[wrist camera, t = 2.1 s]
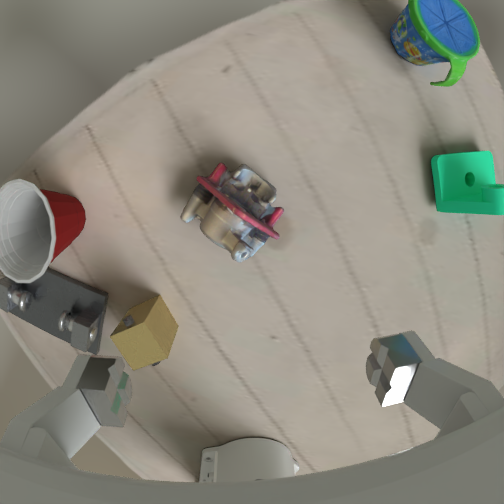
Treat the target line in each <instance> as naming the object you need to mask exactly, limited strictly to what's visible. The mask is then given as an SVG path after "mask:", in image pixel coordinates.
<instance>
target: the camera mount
mask: <svg viewBox="0 0 504 504" xmlns="http://www.w3.org/2000/svg"><path fill="white" fill-rule="evenodd" d="M431 166H432V173H433V180H434V188H435V197H436V208H437V211H440V212H447V213H469V214H488V215H504V185H503V184H496V183H495V173H494V164H493V156H492V154H491V152H490V151H474V152H460V153H450V154H444V155H435V156H433V158H432V160H431Z"/></svg>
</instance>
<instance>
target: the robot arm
mask: <svg viewBox="0 0 504 504" xmlns="http://www.w3.org/2000/svg"><path fill="white" fill-rule="evenodd" d="M370 349H371V351H372V353H371V354H370V355H369V356H368V358H367V362H366V374H367V378H368V380H369V382H370V384H372V385H374V386H375V387H376V390H375V394H376V396H377V398H378V400H379V402H380V405H381V407H383V406H387V405H391V404H396V403H400V402H403V403H405V404H406V405H407V406H409V407H410V408H411V409H413V410H414V411H416V412H417V413H418V414H420V415H421V416H423V417H424V418H425V419H427V420H428V421H430V422H431V423H432V424H434V425H435V426H437V427H438V428H440V431H439V432H438V434H437V435H436V437H435V438H434V440H432V441H429V442H426V443H424V444H421V445H418V446H415V447H413V448H410V449H407V450H404V451H401V452H398V453H394V454H391V455H388V456H385V457H381V458H378V459H374V460H370V461H367V462H363V463H359V464H355V465H351V466H346V467H342V468H337V469H333V470H328V471H322V472H317V473H311V474H305V475H298V476H295V473H296V472H297V471H298V470H299V463H298V462H296V461H295V460H294V459H293V458H292V455H291V452H290V450H289V449H288V448H287V447H286V446H285V445H283V444H281V443H279V442H277V441H274V440H270V439H265V438H245V439H239V440H235V441H232V442H229V443H227V444H224V445H222V446H219V447H211V448H206V449H204V450H203V451H202V458H201V468H200V477H199V482H170V481H155V480H144V479H133V478H126V477H119V476H112V475H106V474H99V473H93V472H88V471H84V470H79V469H78V468H77V467H76V466H75V465H74V464H73V463H72V462H71V461H70V458H71V457H73V455H74V454H75V453H76V452H77V451H78V450H79V449H80V448H81V447H82V446H83V445H84V444H85V443H86V442H87V441H88V440H89V439H90V438H91V437H92V436H93V435H94V434H95V432H96V431H97V430H98V429H99V428H100V427H101V426H113V427H124V424H125V420H126V416H127V410H126V407H125V406H126V405H127V404H128V403H129V402H130V400H131V396H132V385H131V380H130V378H129V375H128V374H126V373H125V372H124V371H123V370H124V367H125V364H124V362H123V360H122V358H121V357H118V356H101V355H84V354H80V355H78V356H77V358H76V360H75V362H74V364H73V366H72V368H71V370H70V372H69V374H68V376H67V378H66V380H65V382H64V384H63V386H62V387H59V386H58V387H57V388H56V389H54V390H53V391H51V392H50V393H48V394H47V395H46V396H44V397H43V398H42V399H40V400H38V401H37V402H36V403H34V404H32V405H31V406H30V407H28V408H27V409H25V410H24V411H22V412H21V413H19V414H18V415H17V416H15V417H14V418H12V419H11V421H10V423H9V425H8V427H7V429H6V431H5V434H4V435H3V438H2V440H1V442H0V504H504V398H503V397H502V395H501V394H500V393H499V391H498V390H497V389H496V388H495V386H494V385H493V384H492V382H491V381H488V380H486V379H484V378H482V377H480V376H477V375H475V374H473V373H471V372H469V371H466V370H464V369H462V368H460V367H458V366H455V365H453V364H451V363H449V362H447V361H445V360H442V359H440V358H437V359H435V357H434V356H433V355H432V353H431V352H430V351H429V349H428V348H427V347H426V346H425V344H424V343H423V342H422V340H421V339H420V338H419V337H418V335H417V334H416V333H415V332H414V331H407V332H403V333H399V334H394V335H389V336H383V337H378V338H373V340H372V342H371V345H370ZM100 425H101V426H100Z"/></svg>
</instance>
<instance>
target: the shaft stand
mask: <svg viewBox="0 0 504 504" xmlns="http://www.w3.org/2000/svg"><path fill="white" fill-rule="evenodd" d="M107 299H108V293H106V292H103V291H101V290H98V289H96V288H93V287H91V286H89V285H86V284H84V283H82V282H79V281H77V280H74V279H72V278H70V277H68V276H65V275H63V274H61V273H59V272H56V271H54V270H52V269H50V268H47V269H46V271H45V273H44V274H43V275H42V276H41V277H39V278H38V279H36V280H34V281H33V282H31V283H17V282H15V281H13V280H12V279H10V278H8V277H7V276H6V277H4V278H2V279H1V280H0V308H1V309H2V310H4V311H6V312H11V313H12V314H14V315H16V316H18V317H19V318H21V319H23V320H25V321H27V322H29V323H30V324H32V325H34V326H36V327H38V328H40V329H42V330H44V331H46V332H48V333H50V334H52V335H54V336H56V337H58V338H60V339H62V340H64V341H66V342H68V343H71V346H73V347H75V348H77V349H79V350H82V351H84V352H87V351H88V352H91V353H93V354H95V355H97V353H98V352H99V347H100V340H101V334H102V327H103V321H104V315H105V310H106V304H107Z"/></svg>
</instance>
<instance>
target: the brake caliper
mask: <svg viewBox="0 0 504 504" xmlns="http://www.w3.org/2000/svg"><path fill="white" fill-rule="evenodd" d="M197 181H198V182H199V185H198V186H197V187H196V188H195V191H194V193H193V195H192V196H191V198H190V200H189V201H188V203H187V205H186V206H185V208H184V210H183V212H182V214H181V219H182V220H183V221H184V222H186V223H188V222H190V221H191V220H193V219H195V218H198V219H199V220H200V221H201V223H200V229H201V231H202V232H203V234H204V235H205V236H206V237H207V238H208V239H210V240H211V241H212V242H213V243H215V244H216V245H218V246H220V247H222V248H224V249H227V250H228V251H229V252H230V253H231V256H232V259H233V260H235V261H237V262H242V261H244V260H246V259H248V258H249V257H251V256H253V255H254V254H255V252H256V251H257V250H258V249H259V248H260V247H261V246H262V245H264V243H265V242H266V240H267V239H268V238H269V237H270V236H271V237H272V238H275V239H279V234H278V233H277V232H276V231H274V230H273V226H274V224H275V223H276V221H277V220H278V219H279V218H280V217H281V215H282V214H283V212H284V209H283V208H282V207H271V205H270V203H272V202H274V200H275V198H276V188H275V187H274V186H272V185H271V184H270V183H269V182H267V181H265V180H264V179H262V178H261V177H260V176H258V175H257V174H256V173H255V172H254V171H253V170H252V169H250V168H249V167H248V166H247V165H245V164H242V165H241V166H240V167H239V168H238V169H237V170H235V171H234V172H229V171H228V169H227V167H226V166H225V164H223V163H219V164H218V166H217V167H216V168H215V170H214V171H213V172H212V173H211V175H210V176H209V177H207V178H204V177H203V176H198V177H197Z"/></svg>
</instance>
